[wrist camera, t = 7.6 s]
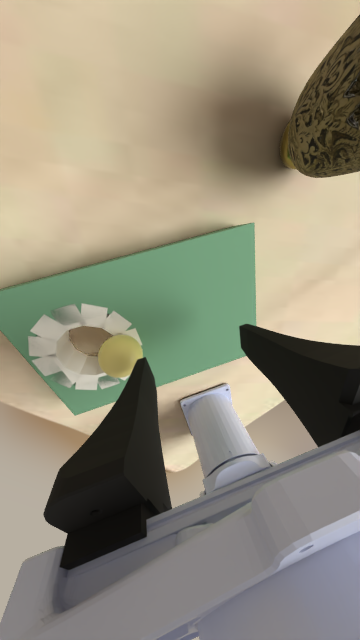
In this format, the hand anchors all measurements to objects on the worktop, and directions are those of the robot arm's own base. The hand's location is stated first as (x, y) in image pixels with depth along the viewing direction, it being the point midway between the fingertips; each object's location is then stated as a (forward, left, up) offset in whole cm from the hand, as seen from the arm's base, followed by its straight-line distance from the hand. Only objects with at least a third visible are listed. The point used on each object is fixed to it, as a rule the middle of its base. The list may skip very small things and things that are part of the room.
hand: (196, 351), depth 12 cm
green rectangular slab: (0, +3, -8) cm, 8 cm away
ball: (0, +6, -3) cm, 7 cm away
